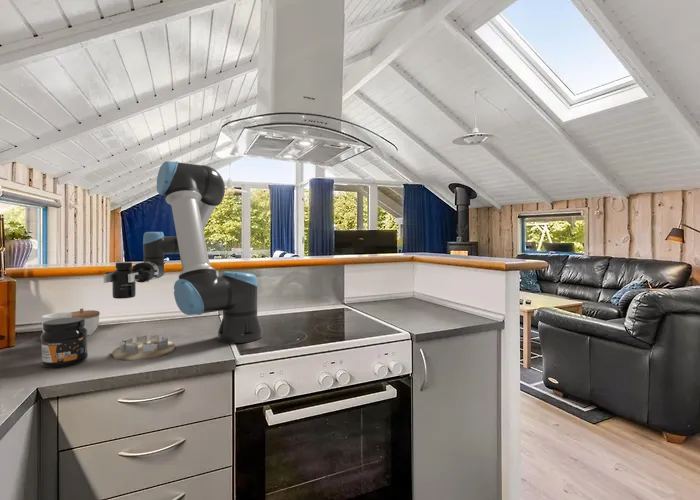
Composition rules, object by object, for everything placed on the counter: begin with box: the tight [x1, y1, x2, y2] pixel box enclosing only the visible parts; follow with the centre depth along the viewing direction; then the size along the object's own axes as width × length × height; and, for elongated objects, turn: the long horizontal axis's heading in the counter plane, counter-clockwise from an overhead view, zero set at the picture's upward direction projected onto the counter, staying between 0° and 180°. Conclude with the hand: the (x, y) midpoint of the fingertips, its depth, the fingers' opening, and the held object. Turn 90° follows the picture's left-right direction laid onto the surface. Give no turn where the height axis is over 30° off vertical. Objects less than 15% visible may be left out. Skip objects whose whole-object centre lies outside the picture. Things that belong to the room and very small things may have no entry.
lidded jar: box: [69, 308, 101, 336], centre depth 137 cm, size 11×11×9 cm
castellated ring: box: [119, 334, 169, 355], centre depth 118 cm, size 13×13×2 cm
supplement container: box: [40, 317, 89, 369], centre depth 107 cm, size 10×10×12 cm
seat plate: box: [112, 340, 176, 361], centre depth 118 cm, size 17×17×1 cm
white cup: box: [41, 312, 72, 333], centre depth 123 cm, size 8×8×10 cm
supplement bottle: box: [111, 261, 137, 300], centre depth 130 cm, size 7×7×12 cm
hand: (117, 278), depth 125 cm, fingers closed on supplement bottle, 7 cm apart
